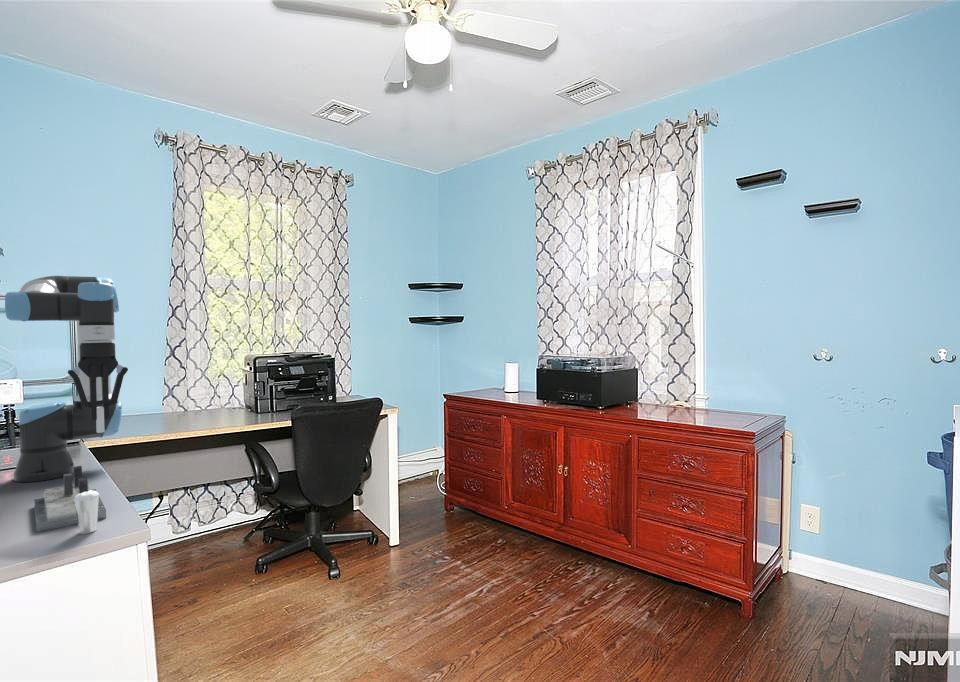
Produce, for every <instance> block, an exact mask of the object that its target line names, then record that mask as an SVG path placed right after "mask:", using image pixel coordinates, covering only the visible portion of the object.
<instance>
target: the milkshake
mask: <svg viewBox="0 0 960 682" xmlns="http://www.w3.org/2000/svg"><path fill="white" fill-rule="evenodd" d="M73 491H74V493H75V495H76V496H75V497H74V501H75V507H76V514H77V522H78V524H77V531H78V533H79V534H80V535H87V534H92V533H93V532H96V531H97V530H98V520H97V518H98V501H99V497H100V493H99V492H98V491H97V490H96V491H93V490H92V489H90V491H87V492H83V493H80V494H78V495H77V493H76V491H75V489H74V488H73Z"/></svg>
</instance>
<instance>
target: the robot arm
mask: <svg viewBox="0 0 960 682" xmlns="http://www.w3.org/2000/svg"><path fill="white" fill-rule="evenodd" d="M4 310H5V311H4V312H5V317H6V319H8V320H9V321H16V322H19V321H21V322H30V321H31V322H35V321H38V322H39V321H42V322H43V321H44V322H45V321H47V322H48V321H50V322H51V321H59V322H60V321H62V322H64V321H65V322H66V321H68V322H70V321H71V322H72V321H74V322H76V324H77V328H76V329H77V352H78V353H77V354H78V355H77V356H78V358H77V359H78V362H77V365H76V366H75V367H73V368H72V369H68V370H67V375H69V376H70V377H71V378H72V380H73V381H72V382H73V384H74V386H75V389H76V392H77V394H78V395H77V396H76V397H75V398H74V399H73V404H69V405H67V403H66V401H64V400H62V401H61V400H60V401H53V402H46V403H40V404H36V405H32V406H28V407H24V408H23V409H21V410H20V412H19V416H18V417H19V418H18V420H19V421H18V426H19V446H20V447H19V451H20V452H19V453H20V454H19V455H20V456H19V459H18V460H17V464H16V467H15V470H14V472H13V481H14V482H18V483H30V482H31V483H32V482H42V481H49V480H53V479H59V478H64V475H63V474H69V473H72V474H74V467H76V466H75V464H74V461H73V459H72V457H71V454H70V452H69V450H68V441H76V440H77V441H79V440H85V439H86V440H87V439H94V438H96V439H97V438H104V437H111V436H114V435H116V434H117V433H118V432H119V429H120V426H121V420H122V411H123V410H122V408H123V403H122V401H120V400H119V396H120V391H121V387H122V384H123V379H124V376H125V374H127V372H128V371H129V368H128V367H127V366H123V365H120V364H119V361H118V360H117V358H116V343H115V342H113V341H115V339H116V335H115V334H116V333H115V331H116V330H115V313H118V312H119V311H120V305H119V299H118V294H117V289H116V285H115V283H114V280H112V279H111V278H109V277H101V276H75V275H74V276H73V275H72V276H71V275H69V276H68V275H50V276H48V275H47V276H43V277H39V278H34V279H31V280H29V281H27V282H25V283H24V284H23V285H22V286H21V287H20V289H19V291H8V292H7V293H5V296H4ZM114 371H116V373H117V375H116V377H115V382H114V386H113V390H112V385H111V382H112V381H111V379H112V377H111V374H112V373H113V372H114Z"/></svg>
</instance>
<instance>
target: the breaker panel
mask: <svg viewBox="0 0 960 682" xmlns="http://www.w3.org/2000/svg"><path fill="white" fill-rule="evenodd" d="M88 482H89V481H88V477H83V467H82V465H77V466H75V467H74V473H73V488H74V489H75V491H76V493H77V495H78V494H80V493H83V492H87V491H90V490H93V491H97V489H96V488H93V489H90V488H89V483H88ZM75 496H76V495H75V493H74V491H73V494H70V495H65V494H64V485H63V486H58V487H53V488H45V489H44V490H43V497H42V498H35V499H34V502H33V503H34V505H33V506H34V518H35V529H36V533H39V532H43V531H44V532H45V531H49V530H54V529H60V528H64V527H68V526H69V527H70V526H73V525H78V522H77V514H76V507H75V501H74V497H75ZM103 519H107V509H106V507H105V505H104V503H103V501H102V499H101V497H100V496H99V501H98V518H97V521H99V520H103Z"/></svg>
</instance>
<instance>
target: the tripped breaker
mask: <svg viewBox="0 0 960 682" xmlns="http://www.w3.org/2000/svg"><path fill="white" fill-rule="evenodd" d="M63 475H64V476H63V486H64V494H65V495H70V494H73V485H74V482H73V473H69V474H63Z"/></svg>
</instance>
